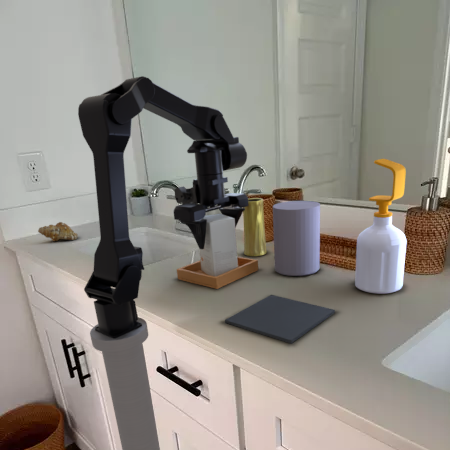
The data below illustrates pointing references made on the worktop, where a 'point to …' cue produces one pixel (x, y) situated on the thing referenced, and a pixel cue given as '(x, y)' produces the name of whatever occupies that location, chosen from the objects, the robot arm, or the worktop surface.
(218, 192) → the robot arm
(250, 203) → the vase
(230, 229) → the small box
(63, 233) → the seashell
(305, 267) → the container
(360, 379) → the worktop surface
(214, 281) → the tray
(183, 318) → the worktop surface
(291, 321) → the mat
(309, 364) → the worktop surface
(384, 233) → the soap bottle
